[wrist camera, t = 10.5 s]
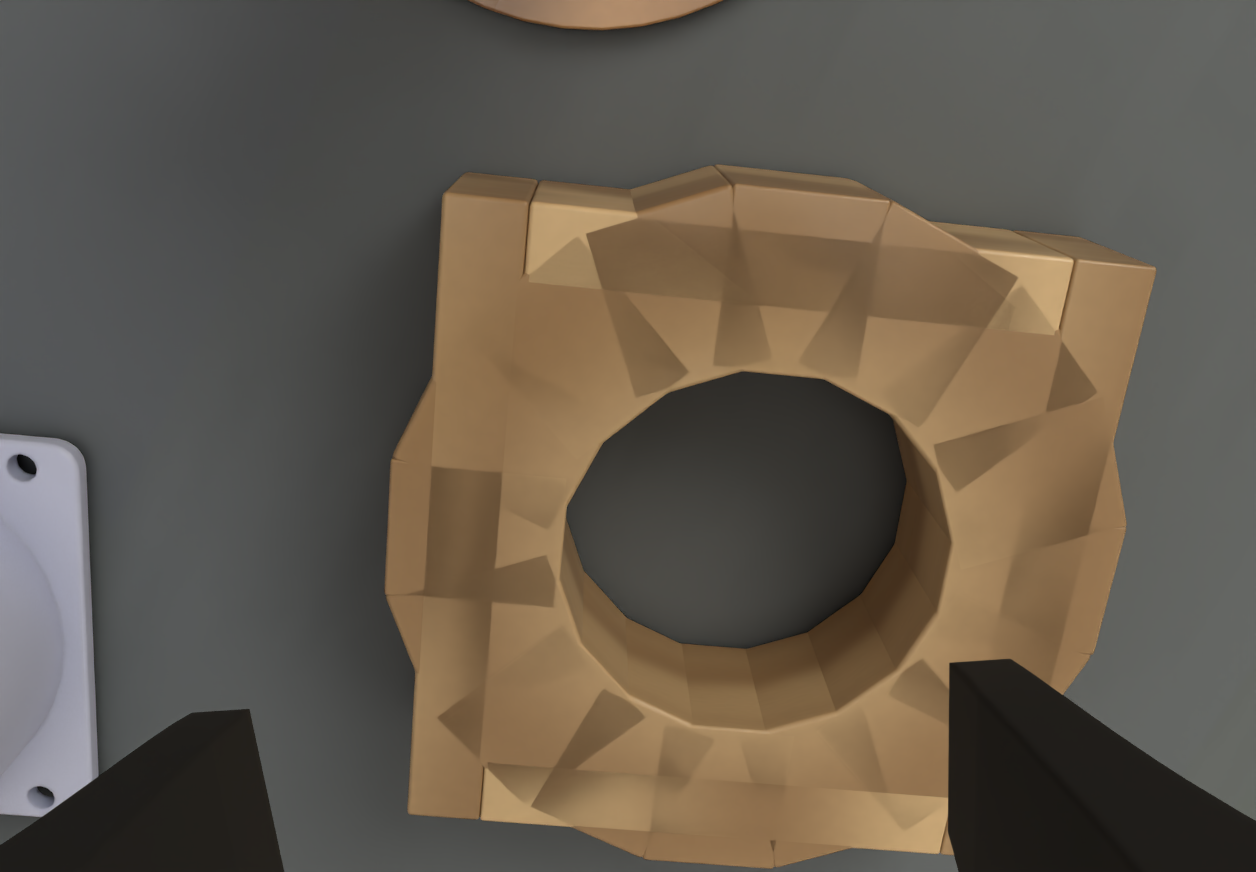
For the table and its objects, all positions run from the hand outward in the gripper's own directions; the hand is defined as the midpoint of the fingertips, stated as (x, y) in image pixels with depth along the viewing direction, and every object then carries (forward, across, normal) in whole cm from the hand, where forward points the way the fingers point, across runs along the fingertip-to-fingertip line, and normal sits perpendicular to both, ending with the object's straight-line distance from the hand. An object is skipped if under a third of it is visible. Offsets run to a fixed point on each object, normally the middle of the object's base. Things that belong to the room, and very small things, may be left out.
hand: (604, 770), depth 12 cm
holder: (+10, -2, +1) cm, 11 cm away
